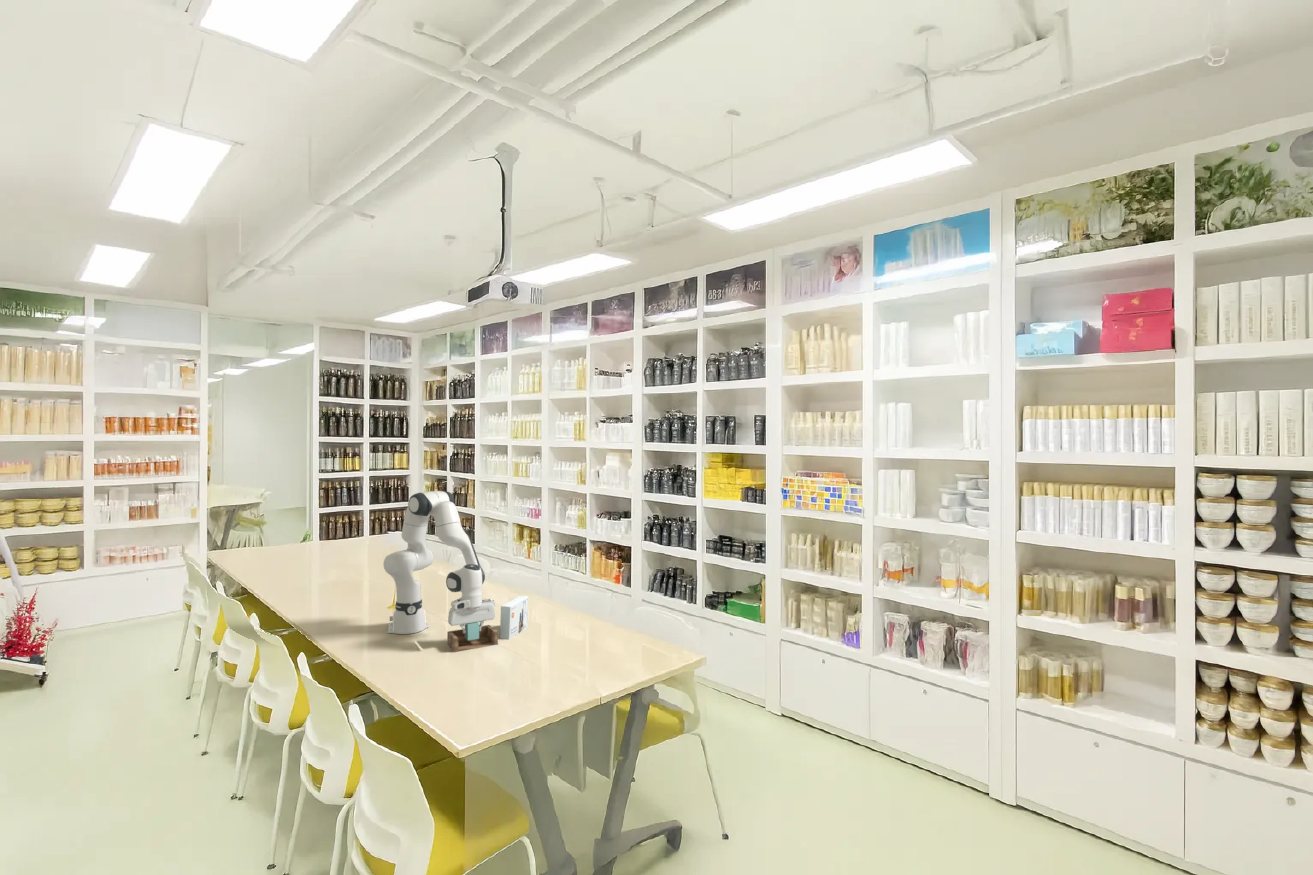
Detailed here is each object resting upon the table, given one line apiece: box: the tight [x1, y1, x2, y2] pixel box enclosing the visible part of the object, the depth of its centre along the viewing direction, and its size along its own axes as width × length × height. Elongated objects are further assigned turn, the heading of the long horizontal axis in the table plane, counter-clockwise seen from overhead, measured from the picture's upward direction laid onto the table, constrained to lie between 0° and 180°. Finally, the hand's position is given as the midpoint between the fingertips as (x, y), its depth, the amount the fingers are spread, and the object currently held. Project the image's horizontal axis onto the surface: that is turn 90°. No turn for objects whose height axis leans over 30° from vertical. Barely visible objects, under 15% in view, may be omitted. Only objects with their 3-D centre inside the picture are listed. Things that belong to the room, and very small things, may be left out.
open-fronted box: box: [446, 624, 499, 653], centre depth 281 cm, size 12×19×6 cm, turn 123°
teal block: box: [464, 622, 480, 640], centre depth 282 cm, size 5×5×7 cm
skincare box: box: [499, 595, 529, 640], centre depth 299 cm, size 21×6×16 cm, turn 168°
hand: (471, 632), depth 282 cm, fingers closed on teal block, 5 cm apart
